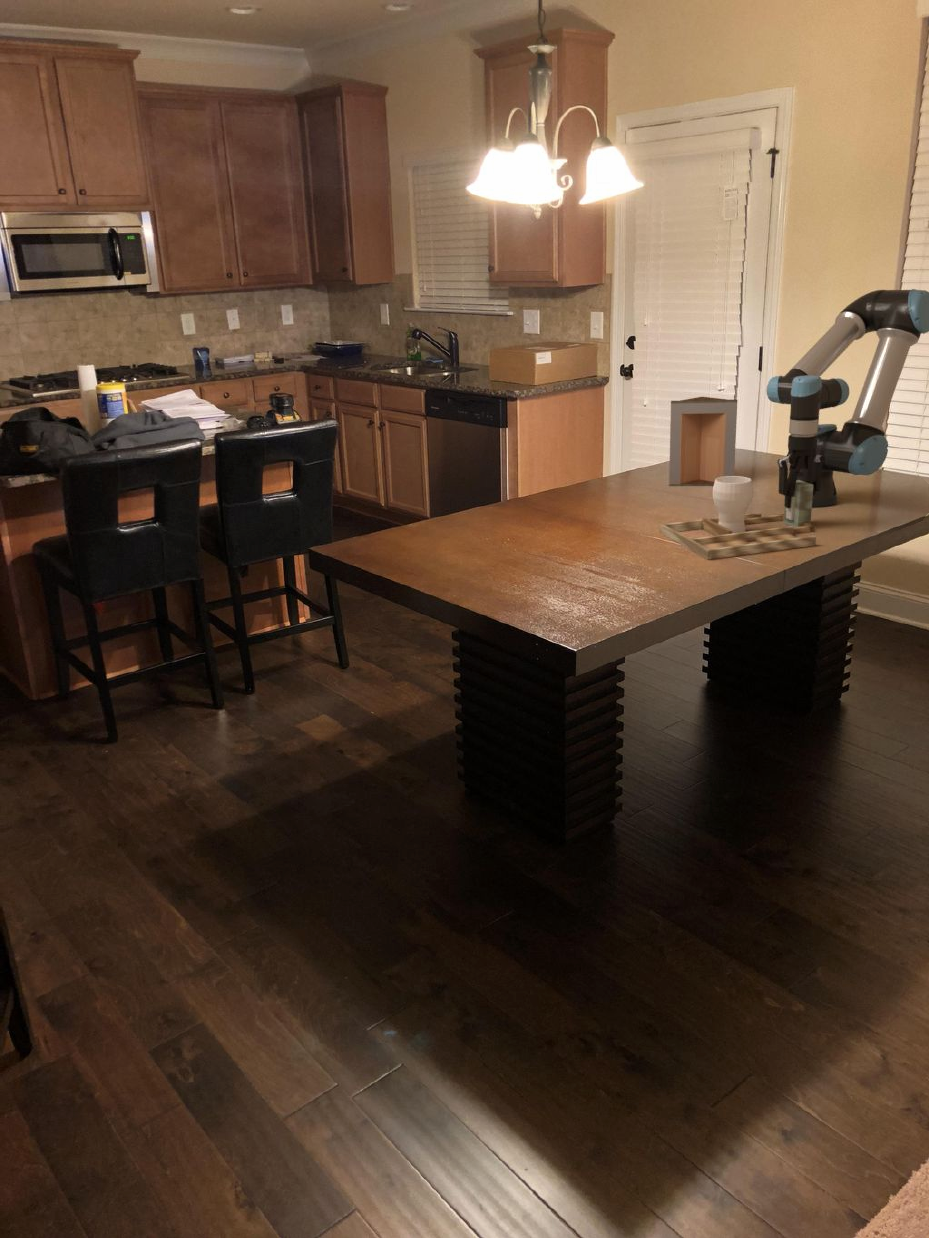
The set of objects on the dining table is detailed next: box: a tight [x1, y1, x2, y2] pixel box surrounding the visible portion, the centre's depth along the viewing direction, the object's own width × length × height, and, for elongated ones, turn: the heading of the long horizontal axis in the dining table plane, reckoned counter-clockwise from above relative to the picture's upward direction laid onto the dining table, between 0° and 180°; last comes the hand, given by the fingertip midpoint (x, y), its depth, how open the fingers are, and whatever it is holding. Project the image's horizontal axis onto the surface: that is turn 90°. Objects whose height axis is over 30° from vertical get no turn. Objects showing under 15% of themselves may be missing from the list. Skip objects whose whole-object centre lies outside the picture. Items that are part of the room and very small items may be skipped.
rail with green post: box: [701, 480, 815, 536], centre depth 270 cm, size 27×15×12 cm, turn 104°
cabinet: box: [668, 396, 738, 487], centre depth 324 cm, size 21×10×28 cm, turn 77°
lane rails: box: [659, 512, 817, 561], centre depth 264 cm, size 31×28×2 cm
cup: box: [712, 475, 754, 534], centre depth 267 cm, size 11×11×15 cm
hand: (797, 517), depth 274 cm, fingers closed on rail with green post, 4 cm apart
